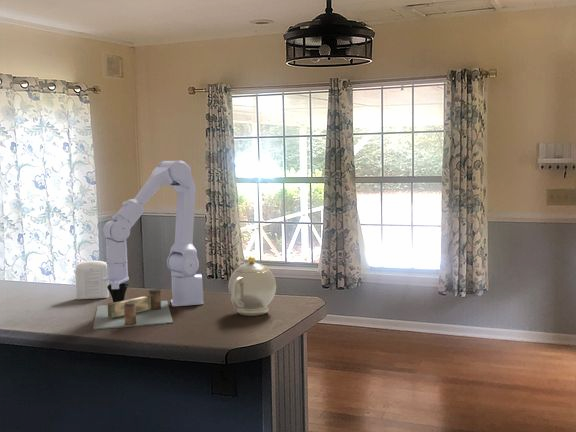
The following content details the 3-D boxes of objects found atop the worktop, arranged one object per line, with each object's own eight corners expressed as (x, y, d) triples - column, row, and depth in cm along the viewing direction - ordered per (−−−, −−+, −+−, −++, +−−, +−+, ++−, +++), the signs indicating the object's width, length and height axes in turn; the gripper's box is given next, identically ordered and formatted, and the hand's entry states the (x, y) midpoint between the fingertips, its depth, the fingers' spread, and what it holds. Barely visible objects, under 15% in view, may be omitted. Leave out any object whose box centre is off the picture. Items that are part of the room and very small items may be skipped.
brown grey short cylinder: (161, 308, 195) (160, 288, 195) (161, 310, 192) (160, 290, 191) (149, 309, 194) (148, 289, 194) (149, 311, 191) (148, 291, 190)
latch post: (136, 323, 178) (135, 301, 178) (136, 326, 175) (135, 303, 175) (125, 324, 178) (123, 302, 177) (125, 327, 175) (123, 304, 174)
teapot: (247, 305, 197) (245, 251, 195) (286, 309, 190) (285, 253, 188) (212, 318, 181) (210, 260, 180) (253, 324, 174) (251, 263, 173)
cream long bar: (147, 307, 192) (146, 295, 192) (151, 308, 191) (150, 296, 190) (108, 316, 183) (107, 303, 182) (112, 317, 181) (111, 304, 181)
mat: (167, 301, 204) (167, 300, 204) (172, 323, 178) (172, 321, 178) (97, 307, 199) (97, 305, 199) (92, 329, 173) (92, 328, 173)
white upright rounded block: (109, 295, 215) (107, 258, 214) (109, 298, 211) (107, 260, 210) (77, 297, 213) (75, 260, 212) (76, 300, 209) (74, 262, 207)
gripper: (105, 259, 193) (107, 304, 194) (99, 267, 178) (101, 315, 179) (130, 258, 194) (132, 303, 195) (125, 266, 179) (127, 314, 181)
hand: (119, 309), depth 187 cm, fingers closed
